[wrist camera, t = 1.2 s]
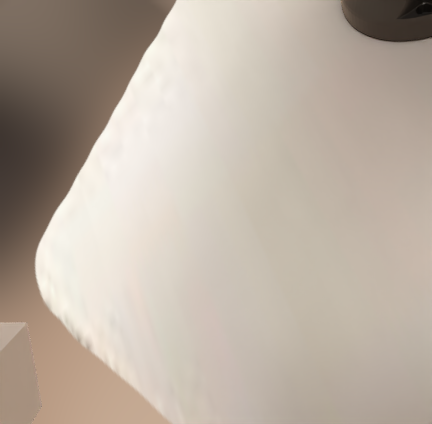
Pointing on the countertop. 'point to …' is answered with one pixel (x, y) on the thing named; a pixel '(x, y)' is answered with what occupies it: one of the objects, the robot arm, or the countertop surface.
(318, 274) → the countertop surface
